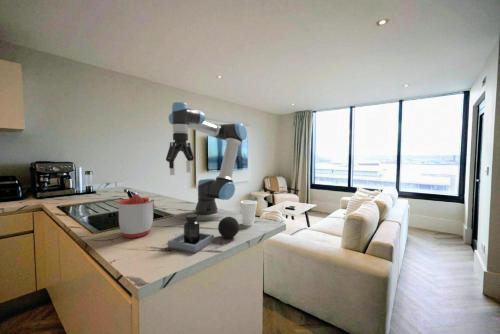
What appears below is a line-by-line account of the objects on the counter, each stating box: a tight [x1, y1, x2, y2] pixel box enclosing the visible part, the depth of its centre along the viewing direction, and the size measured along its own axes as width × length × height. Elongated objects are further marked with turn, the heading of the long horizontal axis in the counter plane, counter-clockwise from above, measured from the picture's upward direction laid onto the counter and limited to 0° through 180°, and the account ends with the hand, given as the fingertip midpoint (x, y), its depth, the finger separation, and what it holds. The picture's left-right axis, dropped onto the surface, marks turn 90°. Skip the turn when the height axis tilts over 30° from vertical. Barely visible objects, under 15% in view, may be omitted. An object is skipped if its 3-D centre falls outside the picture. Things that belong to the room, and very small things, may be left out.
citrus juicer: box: [117, 193, 158, 239], centre depth 108 cm, size 16×17×20 cm
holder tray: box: [167, 232, 215, 255], centre depth 97 cm, size 14×14×3 cm
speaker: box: [217, 216, 240, 239], centre depth 105 cm, size 10×10×10 cm
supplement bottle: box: [183, 214, 201, 245], centre depth 96 cm, size 7×7×12 cm
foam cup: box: [240, 199, 258, 227], centre depth 126 cm, size 10×9×13 cm
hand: (181, 173), depth 115 cm, fingers open, 13 cm apart
